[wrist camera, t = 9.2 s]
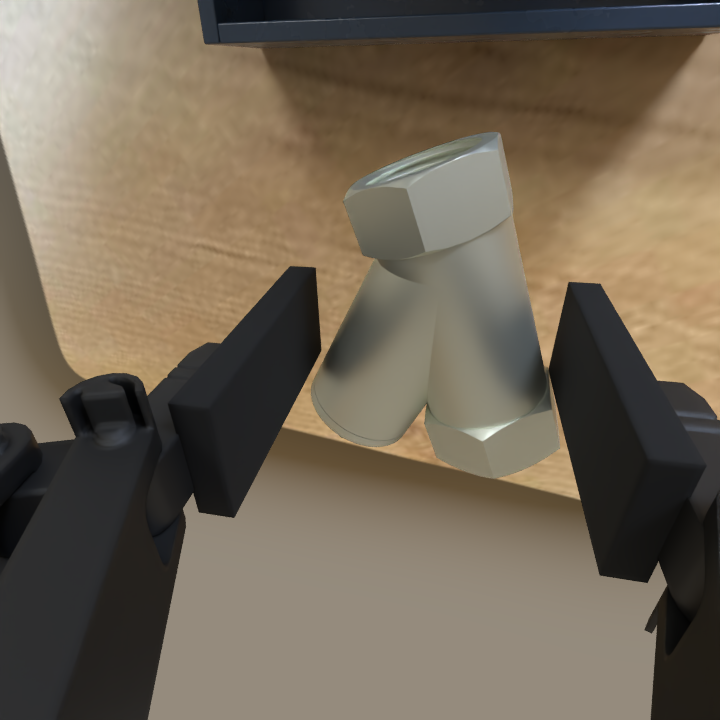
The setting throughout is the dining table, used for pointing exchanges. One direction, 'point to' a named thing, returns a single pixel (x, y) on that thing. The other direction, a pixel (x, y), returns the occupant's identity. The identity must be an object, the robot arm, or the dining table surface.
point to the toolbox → (446, 21)
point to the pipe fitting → (441, 317)
